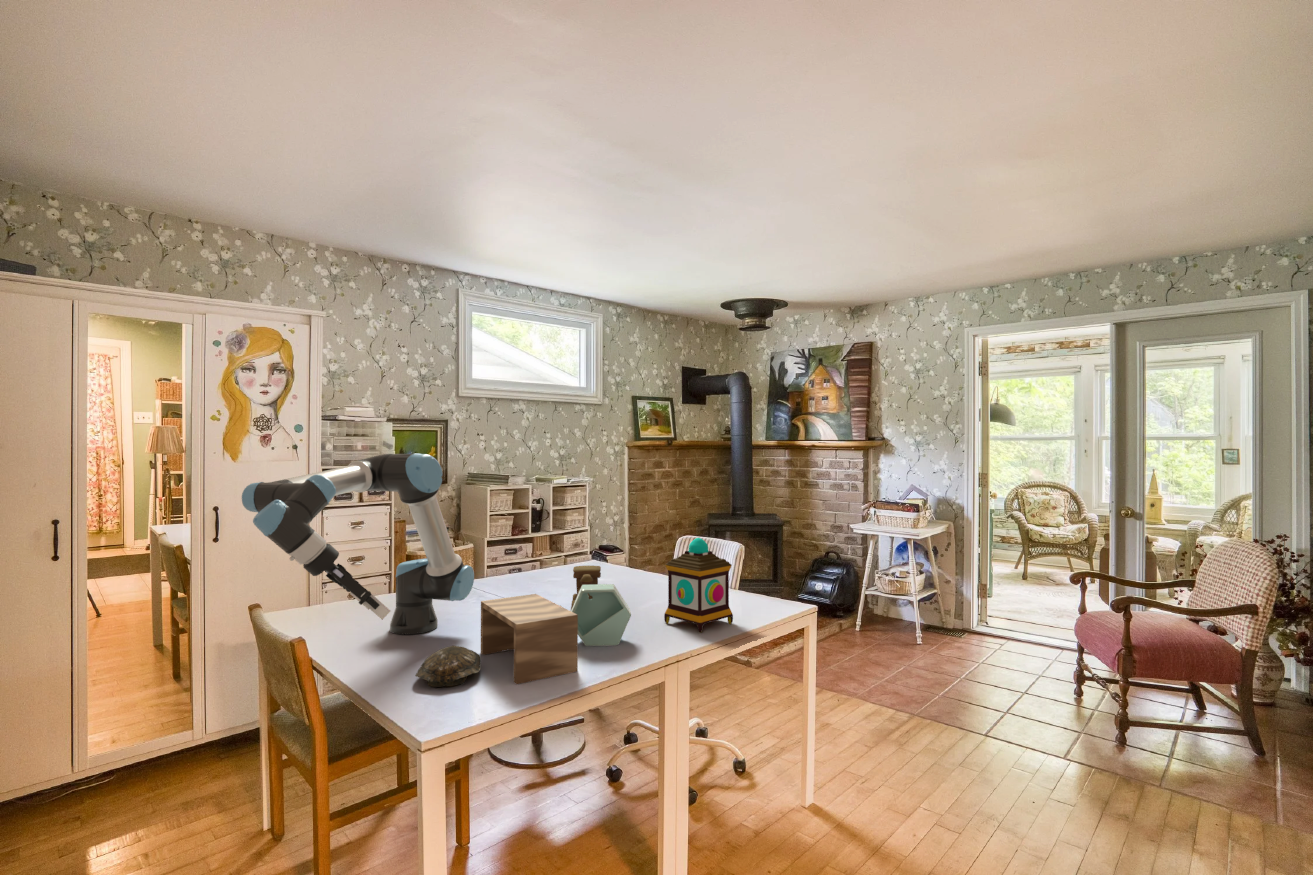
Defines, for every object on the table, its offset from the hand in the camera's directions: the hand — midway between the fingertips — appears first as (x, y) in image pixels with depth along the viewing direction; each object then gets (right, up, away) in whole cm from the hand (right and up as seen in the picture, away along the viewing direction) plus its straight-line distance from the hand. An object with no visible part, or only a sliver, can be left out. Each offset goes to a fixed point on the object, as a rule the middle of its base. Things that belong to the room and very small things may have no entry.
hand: (379, 610), depth 158 cm
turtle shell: (+15, -21, +10) cm, 27 cm away
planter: (+52, -21, +40) cm, 69 cm away
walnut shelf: (+32, -21, +21) cm, 44 cm away
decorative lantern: (+85, -22, +61) cm, 107 cm away
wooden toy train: (+44, -22, +72) cm, 88 cm away
